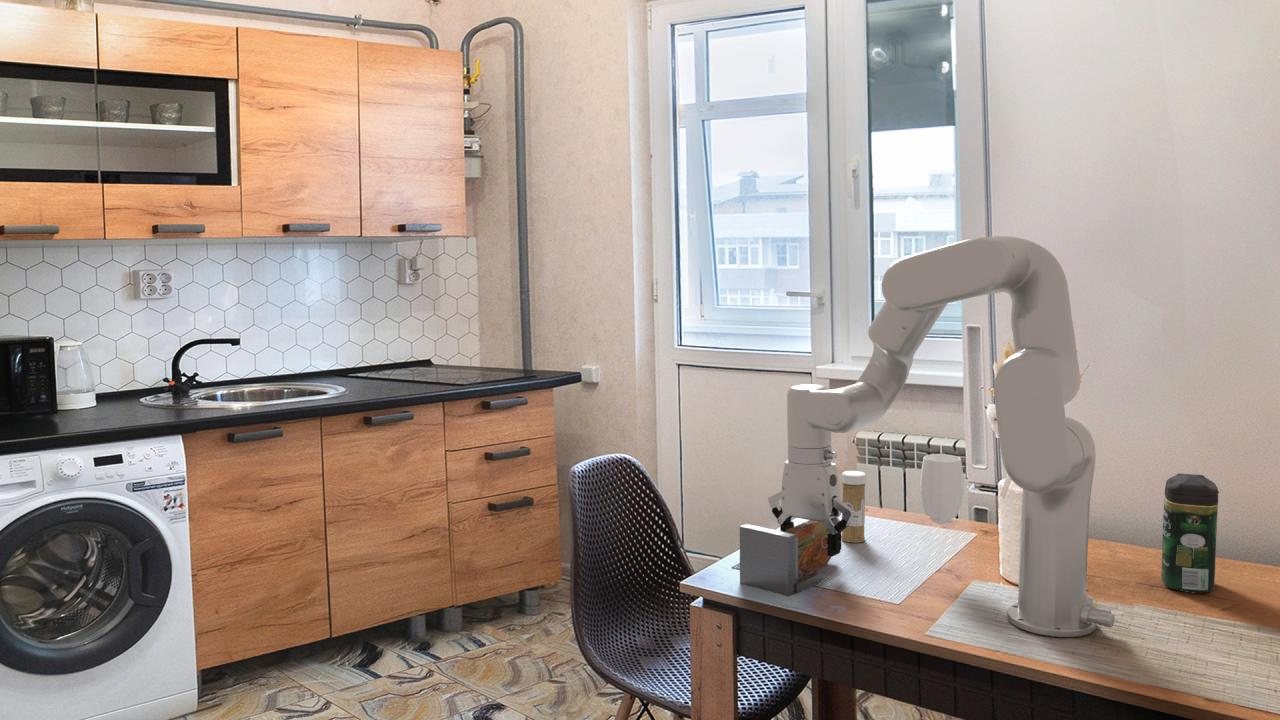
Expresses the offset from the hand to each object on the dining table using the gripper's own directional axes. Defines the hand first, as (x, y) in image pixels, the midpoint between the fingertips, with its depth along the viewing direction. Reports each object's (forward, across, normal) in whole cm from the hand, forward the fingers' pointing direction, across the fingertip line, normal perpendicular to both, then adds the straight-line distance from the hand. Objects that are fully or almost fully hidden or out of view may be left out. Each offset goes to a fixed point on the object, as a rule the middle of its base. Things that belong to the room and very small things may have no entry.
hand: (810, 549), depth 181 cm
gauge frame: (+4, 0, +8) cm, 9 cm away
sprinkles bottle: (+4, +4, -20) cm, 21 cm away
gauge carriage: (+2, +2, +9) cm, 9 cm away
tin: (+4, +1, 0) cm, 4 cm away
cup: (+4, -18, -12) cm, 23 cm away
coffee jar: (+5, -52, -34) cm, 62 cm away
